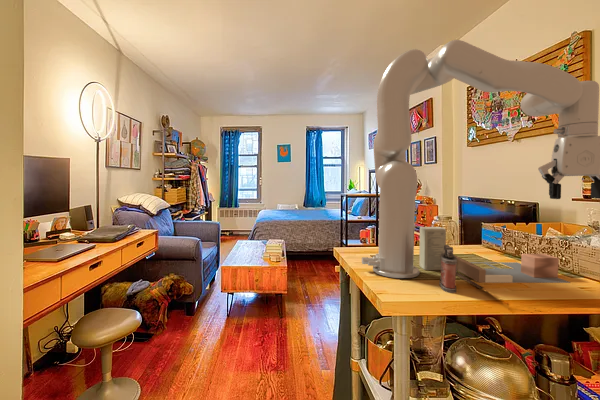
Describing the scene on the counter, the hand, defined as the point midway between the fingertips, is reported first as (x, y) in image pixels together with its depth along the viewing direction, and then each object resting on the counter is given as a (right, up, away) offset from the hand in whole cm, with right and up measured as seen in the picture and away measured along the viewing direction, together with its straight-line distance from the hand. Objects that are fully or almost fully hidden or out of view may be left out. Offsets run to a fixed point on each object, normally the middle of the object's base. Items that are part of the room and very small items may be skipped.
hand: (575, 198), depth 78 cm
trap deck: (-18, -21, +3) cm, 28 cm away
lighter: (-36, -22, -5) cm, 42 cm away
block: (-10, -20, 0) cm, 22 cm away
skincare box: (-33, -21, +11) cm, 40 cm away
